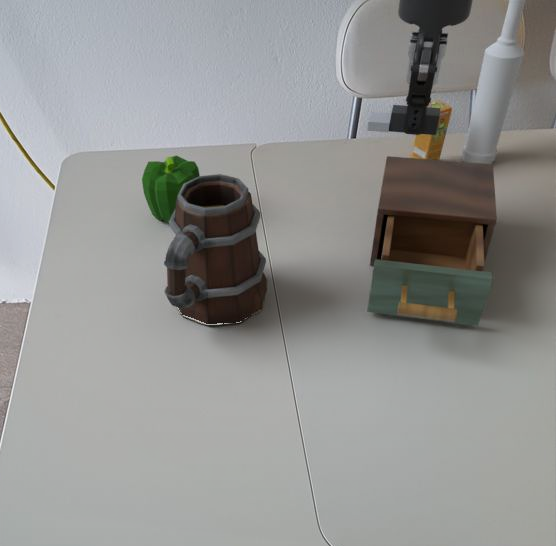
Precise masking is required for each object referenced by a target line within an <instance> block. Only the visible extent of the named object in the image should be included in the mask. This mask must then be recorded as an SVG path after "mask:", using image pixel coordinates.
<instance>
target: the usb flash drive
mask: <svg viewBox="0 0 556 546" xmlns="http://www.w3.org/2000/svg"><path fill="white" fill-rule="evenodd" d="M407 107H408V105H404V104H402V105H401V104H393V105H392V109H391V112H390V113H389V112H378V111H370V113H369V117H368V121H367V128H366V131H368V132H381V133H389V132H390V133H403V134H405V133H404V125H405V119H406V113H407ZM440 110H441V108H432V107H427V110H426V116H425V121H424V126H423V132H422V133H421V134H428V135H436V133H437V128H438V123H439V118H440Z"/></svg>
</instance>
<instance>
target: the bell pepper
mask: <svg viewBox="0 0 556 546" xmlns="http://www.w3.org/2000/svg"><path fill="white" fill-rule="evenodd" d="M199 176H201V175H200V168H199V166H198V165H197V163H196V161H195V160H194V161H193V160H187V159H184V158H183V157H180V156H179V155H173V156H168V157H166V158H165V160H164V161H160V160H159V161H158V160H157V161H147V164H146V165H145V168H144V171H143V174H142V177H141V184H142V190H143V196H144V198H145V200H146V203H147V205H148V208H149V210H150V213H151V214H152V216H153V217H154V218H155V219H157V220H159V221H164V223H166V224H169V220H170V218H171V216H172V214H173V212H174V210H175V206H176V199H177V198H178V194H179V192H180V190H181V188H182V186H183V184H184V183H187V182H189V181H191V180H193V179H195V178H197V177H199Z"/></svg>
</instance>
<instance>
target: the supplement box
mask: <svg viewBox="0 0 556 546" xmlns="http://www.w3.org/2000/svg"><path fill="white" fill-rule="evenodd" d="M427 107H432V108H441V110H440V118H439V123H438V128H437V133H436V135H428V134H420V135H414V140H413V146H412V149H411V150H412V151H411V155H410V158H417V159H430V160H441V155H442V152H443V147H444V144H445V141H446V136H447V131H448V127H449V123H450V120H451V116H452V111H453V107H452V106H451V105H449V104H447V103H446V102H444V101H442V100H439V99H436V100H434V101H431V103H429V106H427Z"/></svg>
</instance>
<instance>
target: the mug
mask: <svg viewBox="0 0 556 546" xmlns="http://www.w3.org/2000/svg"><path fill="white" fill-rule="evenodd" d="M252 197H253V196H252V193H251V192H250V191H249V188H248V187H247V185H246V184H245V183H244V182H243V181H242V180H241V179H240V178H238V177H234V176H231V175H226V174H222V173H218V174H217V173H216V174H208V175H200V176H199V177H197V178H195V179H193V180H191V181H189V182H187V183H184V184H183V186H182V188H181V190H180V192H179V194H178V198H177V199H176V206H175V210H174V212H173V214H172V216H171V218H170V220H169V223H168V225H169V227H170V229H171V231H172V232H173V233H174V235H175V236H174V238H173V239H172V240H171V242H170V244H169V246H168V248H167V251H166V255H165V259H164V261H163V265H164V266H165V268H166V279H167V280H166V282H167V286H166V287H165V289H164V294H165V296H166V298H167V300H168V302H169V303H170V304H171V305H172V306H174V307H176V308H177V307H178V308H179V310H180V312H181V313H182V315H185V316H188V317H191V318H194V319H196V320H199V321H201V322H204V323H206V324H217V323H223V324H224V323H236V322H240V321H242V322H244V321H245V320H244V319H245V318H247V317H249V316H250V317H252V316H253V315H252V314H254V313H255V314H256V312H257V313H259V312H260V311H262V310H263V307H264V304H265V300H266V297H267V292H268V278H267V276H266V274H265V272H264V270H265V267H266V264H267V258H266V257H265V256H264V254H263V253H262V252H261V251H260V250H259V243H258V235H257V228H258V225H259V222H260V219H261V211H260V210H259V209H258V208H257V207H256V206H255V205H254V204H253V198H252ZM265 296H266V297H265ZM263 303H264V304H263ZM261 309H262V310H261ZM179 310H178V311H179ZM259 310H260V311H259ZM180 312H179V313H180ZM255 314H254V315H255ZM182 315H181V316H182ZM251 315H252V316H251ZM250 317H249V318H250ZM247 319H248V318H247ZM243 320H244V321H243Z"/></svg>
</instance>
